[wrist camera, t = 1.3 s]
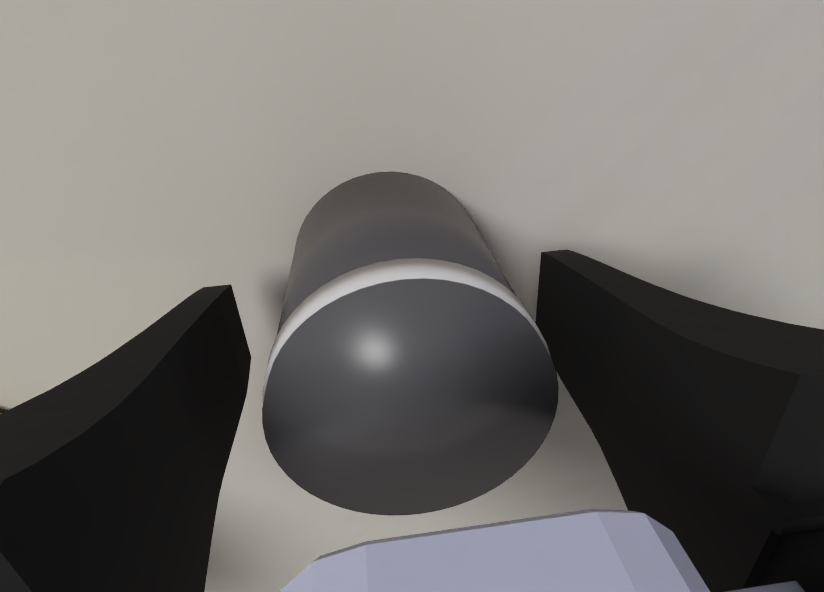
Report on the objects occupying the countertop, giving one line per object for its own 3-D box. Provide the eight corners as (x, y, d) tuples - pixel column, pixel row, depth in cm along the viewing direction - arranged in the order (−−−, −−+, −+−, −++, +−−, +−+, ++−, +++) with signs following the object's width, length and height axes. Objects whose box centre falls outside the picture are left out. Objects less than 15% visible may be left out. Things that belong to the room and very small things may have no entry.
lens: (482, 161, 12) (577, 270, 7) (479, 329, 15) (548, 497, 10) (275, 179, 12) (223, 308, 7) (309, 348, 15) (290, 533, 10)
